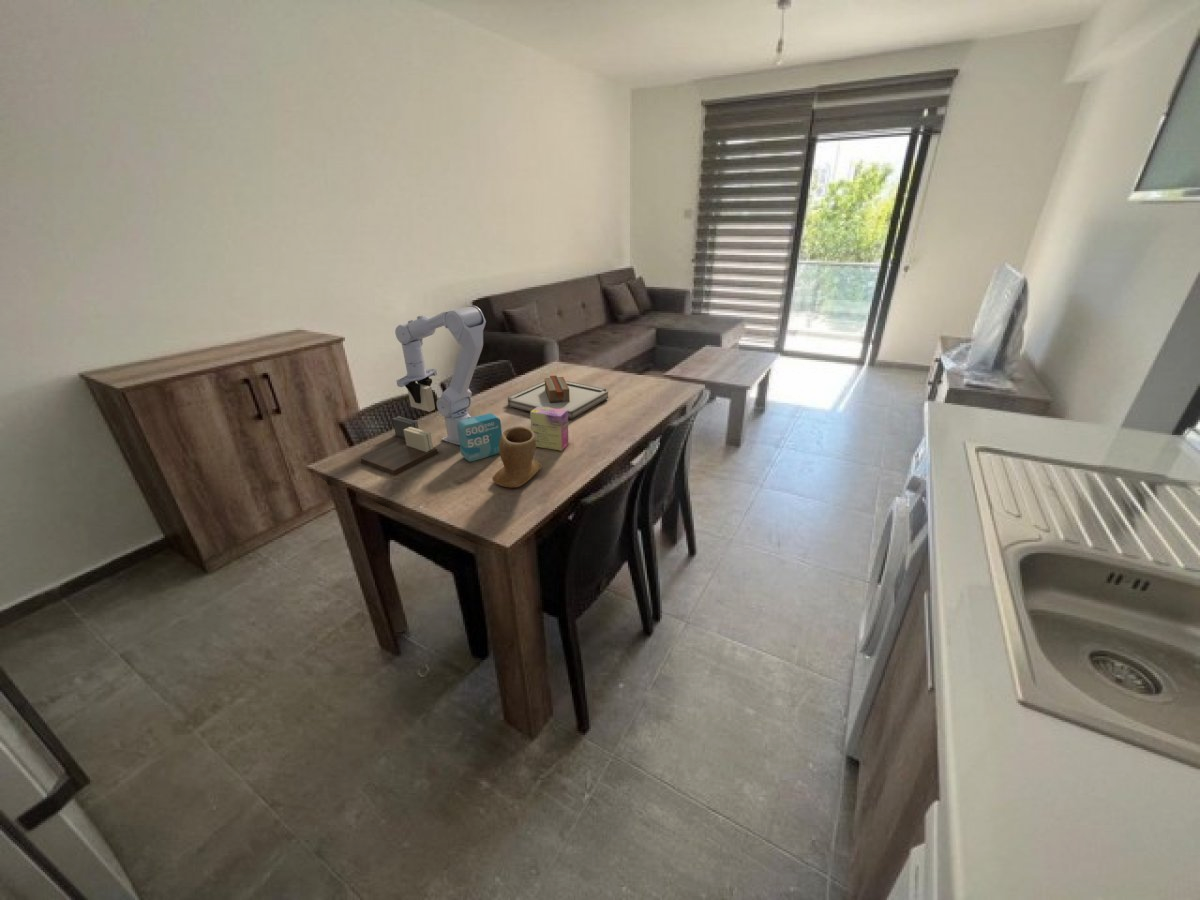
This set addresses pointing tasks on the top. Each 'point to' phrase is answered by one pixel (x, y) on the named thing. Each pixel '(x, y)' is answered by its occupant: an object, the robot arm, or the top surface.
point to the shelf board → (396, 457)
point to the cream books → (418, 439)
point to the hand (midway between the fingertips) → (421, 401)
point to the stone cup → (517, 457)
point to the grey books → (403, 425)
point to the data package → (479, 436)
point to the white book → (424, 399)
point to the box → (550, 427)
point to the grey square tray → (558, 396)
